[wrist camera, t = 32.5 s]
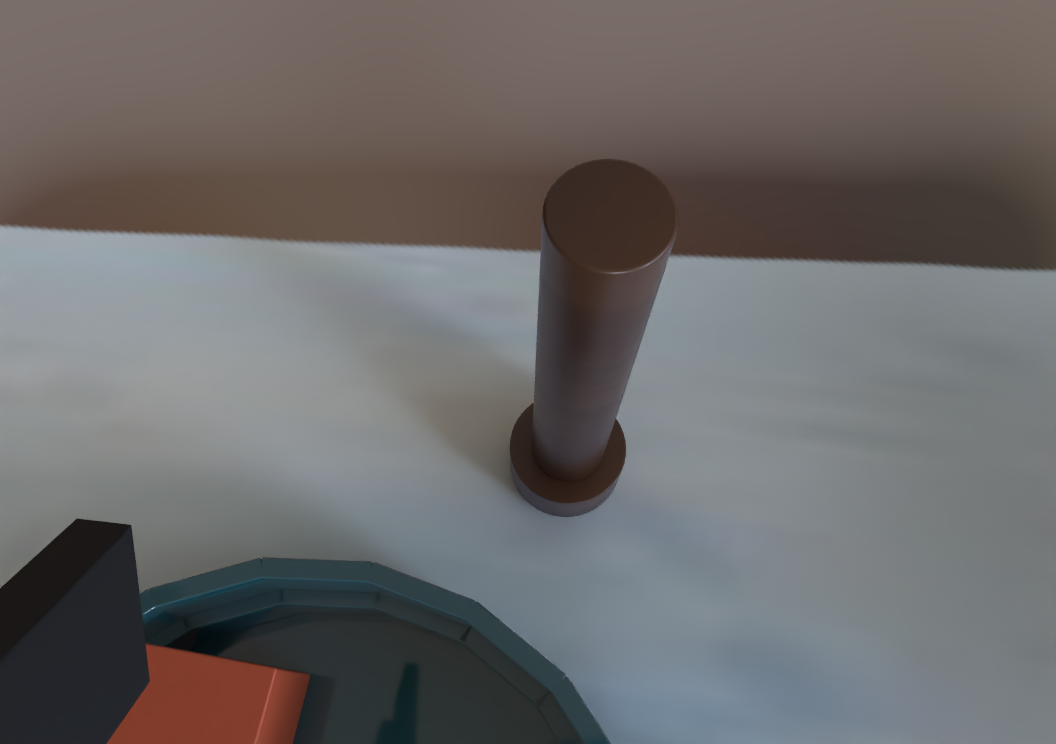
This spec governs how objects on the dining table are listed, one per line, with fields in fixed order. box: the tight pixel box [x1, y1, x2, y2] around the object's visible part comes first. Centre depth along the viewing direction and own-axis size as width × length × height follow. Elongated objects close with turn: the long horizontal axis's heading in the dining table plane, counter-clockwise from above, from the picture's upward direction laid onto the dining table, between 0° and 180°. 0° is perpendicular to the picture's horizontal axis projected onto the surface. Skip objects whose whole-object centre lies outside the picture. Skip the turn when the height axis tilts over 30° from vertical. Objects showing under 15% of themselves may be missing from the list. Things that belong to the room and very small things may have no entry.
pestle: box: [510, 159, 679, 517], centre depth 22 cm, size 4×4×16 cm
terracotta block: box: [107, 643, 310, 744], centre depth 23 cm, size 4×4×4 cm
